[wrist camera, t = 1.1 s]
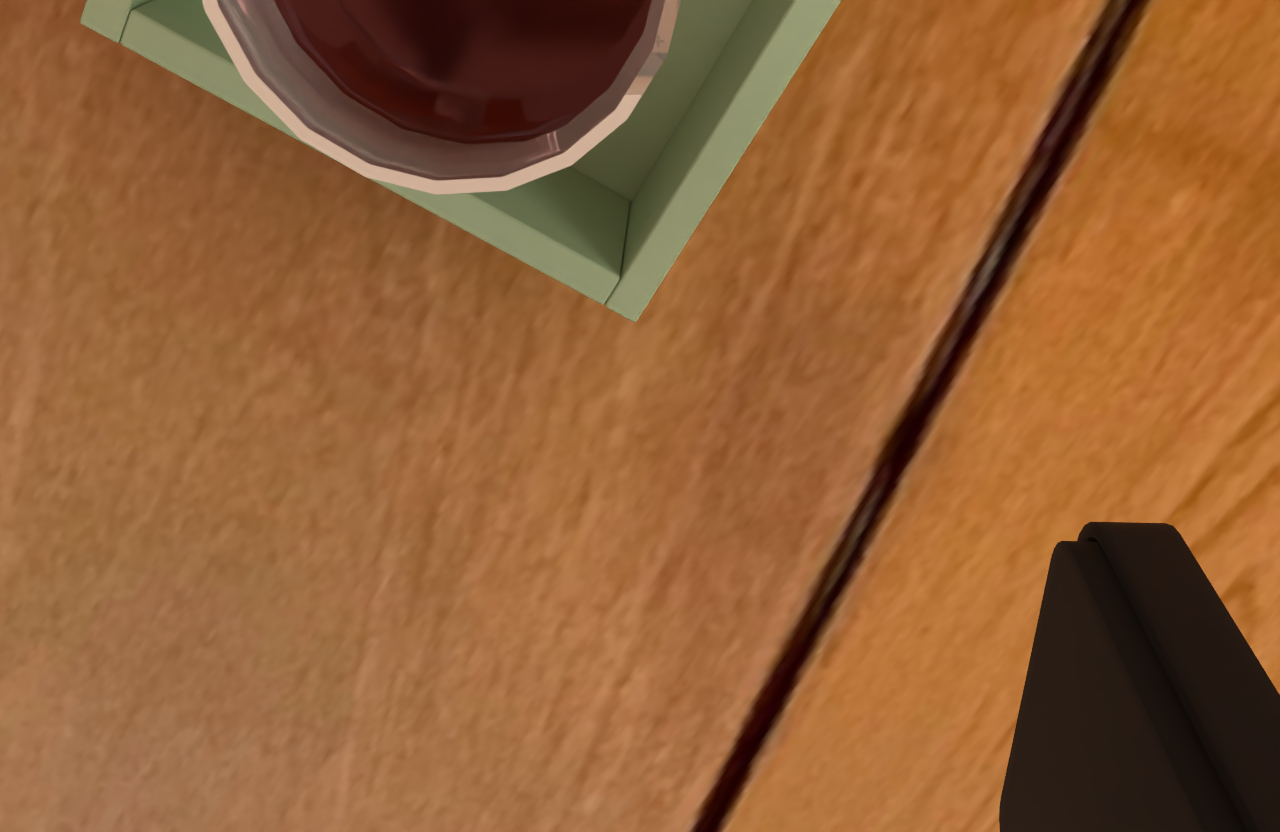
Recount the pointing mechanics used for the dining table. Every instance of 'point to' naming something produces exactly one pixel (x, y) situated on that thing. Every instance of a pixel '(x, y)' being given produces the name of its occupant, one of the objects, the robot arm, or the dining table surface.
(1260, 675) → the robot arm
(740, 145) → the bin
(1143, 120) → the dining table surface
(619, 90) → the wineglass
